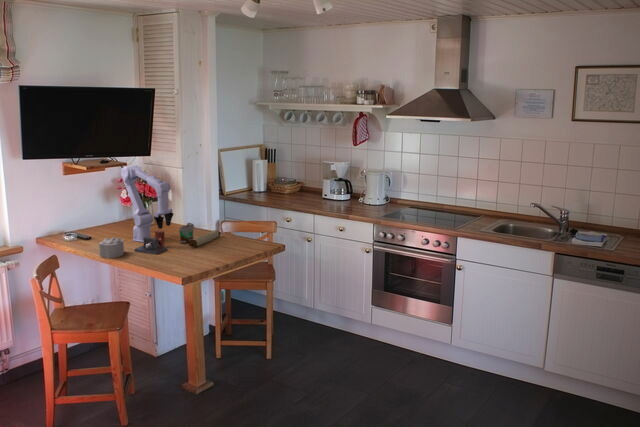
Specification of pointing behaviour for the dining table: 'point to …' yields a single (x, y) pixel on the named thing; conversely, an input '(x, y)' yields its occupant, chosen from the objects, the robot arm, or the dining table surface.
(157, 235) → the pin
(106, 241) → the lumpy-topped squat cylinder
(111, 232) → the dining table surface
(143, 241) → the robot arm
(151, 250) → the eye bracket
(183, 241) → the food container
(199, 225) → the dining table surface
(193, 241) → the rolling pin
